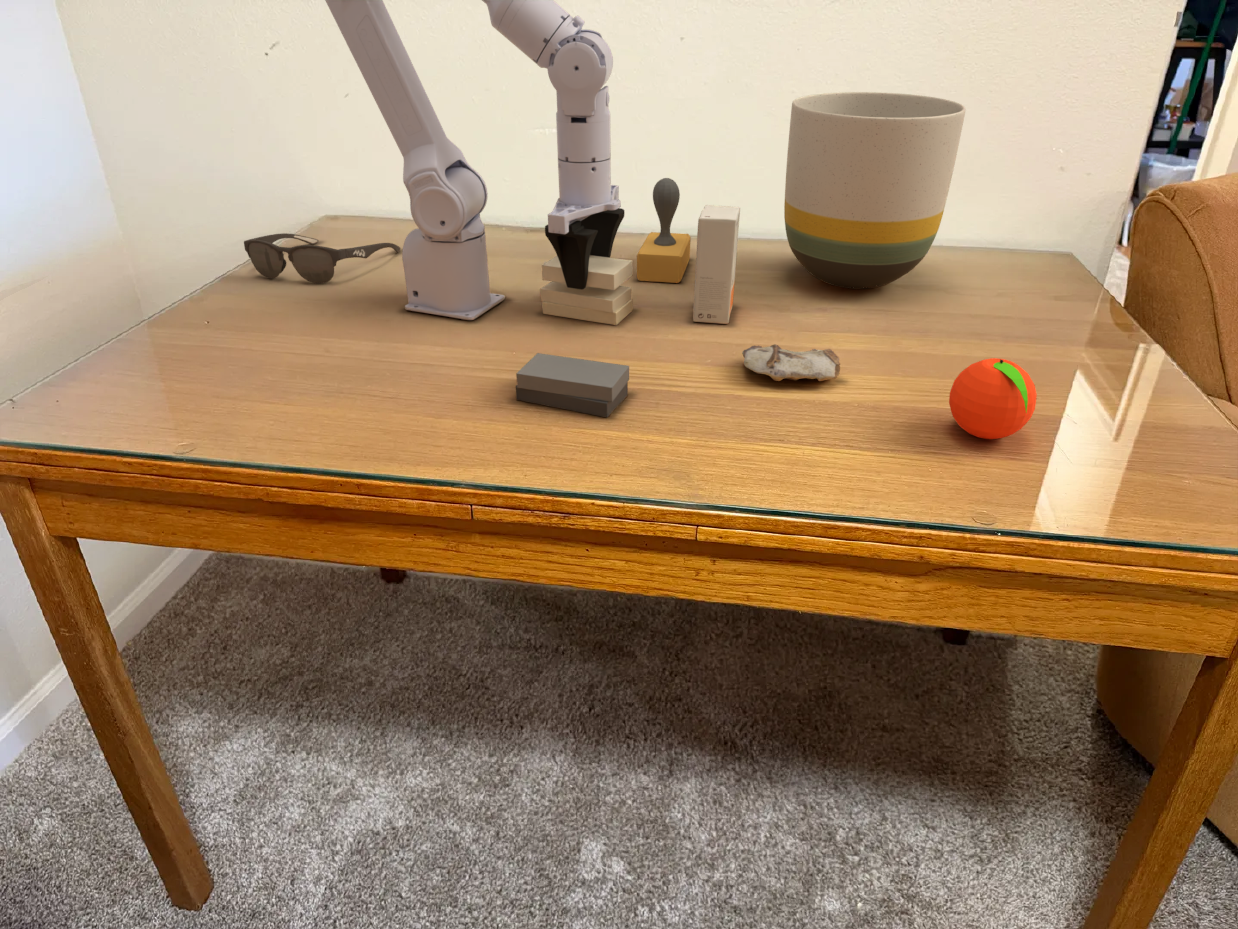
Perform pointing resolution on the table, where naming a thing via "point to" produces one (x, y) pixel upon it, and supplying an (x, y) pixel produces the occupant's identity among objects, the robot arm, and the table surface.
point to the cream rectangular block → (593, 272)
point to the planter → (867, 182)
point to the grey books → (573, 384)
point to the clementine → (992, 398)
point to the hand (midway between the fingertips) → (587, 279)
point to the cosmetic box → (715, 263)
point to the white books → (587, 302)
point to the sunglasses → (303, 256)
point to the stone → (792, 363)
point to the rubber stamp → (664, 240)
